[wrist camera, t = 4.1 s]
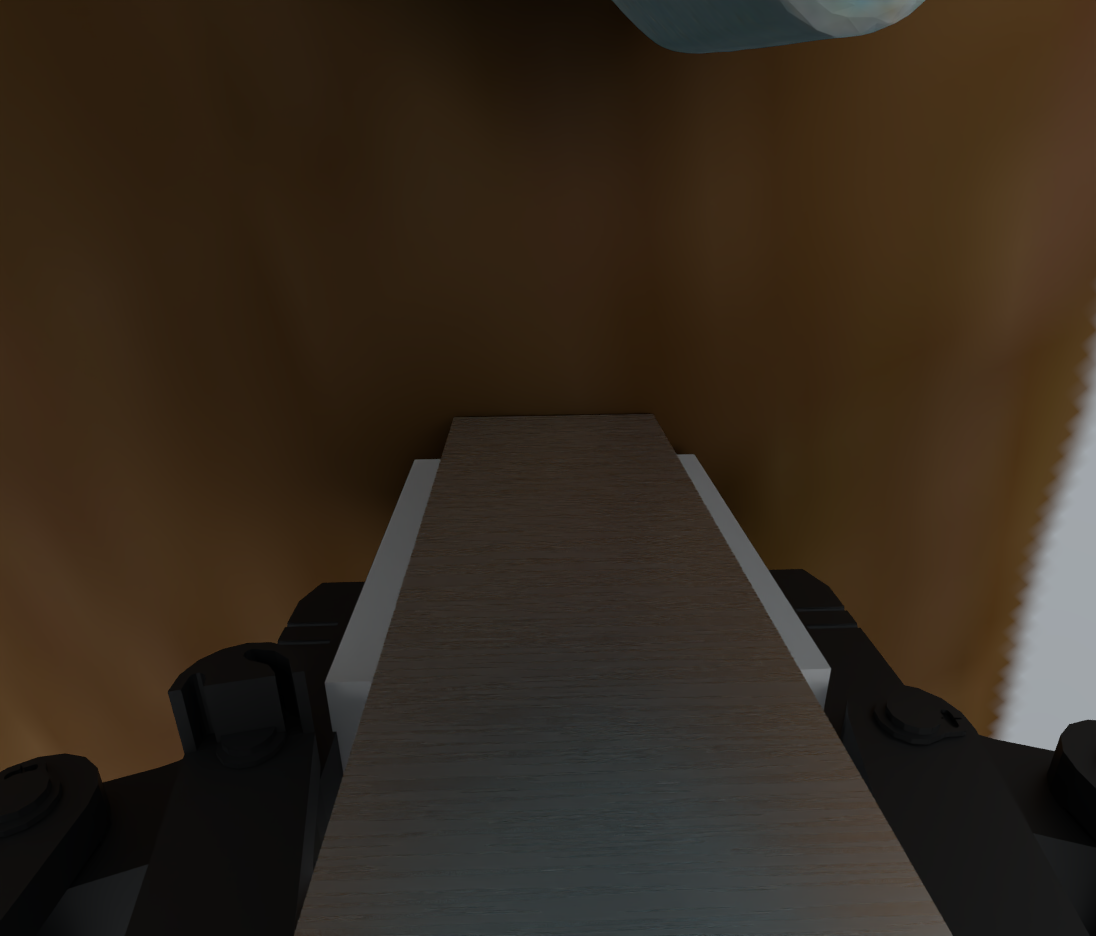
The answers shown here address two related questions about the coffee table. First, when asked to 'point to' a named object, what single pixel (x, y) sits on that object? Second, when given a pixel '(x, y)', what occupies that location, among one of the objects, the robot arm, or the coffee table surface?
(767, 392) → the coffee table surface
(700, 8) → the flower pot
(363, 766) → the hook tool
